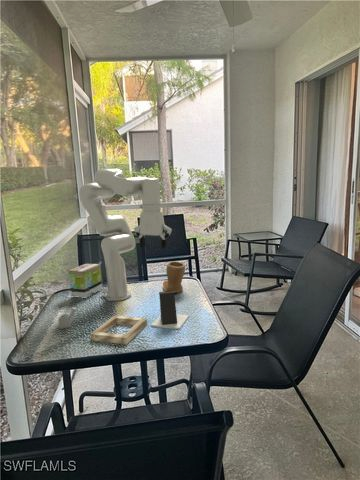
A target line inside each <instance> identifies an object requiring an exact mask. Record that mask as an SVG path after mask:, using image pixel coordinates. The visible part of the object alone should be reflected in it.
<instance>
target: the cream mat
mask: <svg viewBox="0 0 360 480" xmlns="http://www.w3.org/2000/svg"><path fill="white" fill-rule="evenodd" d="M176 315H177V323H175V324H166V325H162V320H161V314H160V315H159V316H158V318H156V320H155V321H153V322H152V323H151V325H150V327H155V328H163V329H165V328H166V329H172V328H173V329H174V330H180V329H181V328H182V327H183V326H184V324H185V323H186V322H187V320H188V319H189V318H190V315H189V314H179V313H178V314H177V313H176Z"/></svg>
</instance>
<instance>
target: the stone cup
mask: <svg viewBox="0 0 360 480" xmlns="http://www.w3.org/2000/svg"><path fill="white" fill-rule="evenodd" d="M185 273H186V266H185V264H184V263H183V262H180V261H170V262H168V263H167V265H166V277H167V280H164V281H163V282H162V288H163V292H166V291H174V294H177V293H181V292H182V291H183V289H184V288H183V285H182V281H183V278H184V275H185Z"/></svg>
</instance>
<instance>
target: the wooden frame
mask: <svg viewBox="0 0 360 480" xmlns="http://www.w3.org/2000/svg"><path fill="white" fill-rule="evenodd" d="M118 324H119V325H127V326H128V325H129V326H132V327H131V328H129V330H128V331H127V332H126V333H125V334H120V333H119V334H118V333H110V332H108V331H110V330H111V329H112V328H113V327H114V326H115V325H118ZM147 325H148V319H147V318H145V317H134V316H122V315H112V317H110V318H109V319H108V320H107V321H105V322H104V323H103V324H101V325H100V326H99V327H98V328H96V329H95V330H93V331H92V332H91V333H90V334H89V335H90V340H91V341H95V342H103V343H111V344H118V345H128V344H129V343H130V342H131V341H132V340H133V339H134V338H135V337H136V336H137V335H138V334H139V333H140V332H141V331H142V330H143V329H144V328H145V327H146V326H147ZM107 332H108V333H107Z"/></svg>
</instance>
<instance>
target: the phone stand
mask: <svg viewBox="0 0 360 480" xmlns="http://www.w3.org/2000/svg"><path fill="white" fill-rule="evenodd" d="M175 294H176V293H174V291H166V292H165V291H160V292H159V293H158V295H159V307H160V308H159V309H160V310H159V311H160V315H161V320H162V325H166V324H175V323H177V315H176V314H177V307H176V298H175Z"/></svg>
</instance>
